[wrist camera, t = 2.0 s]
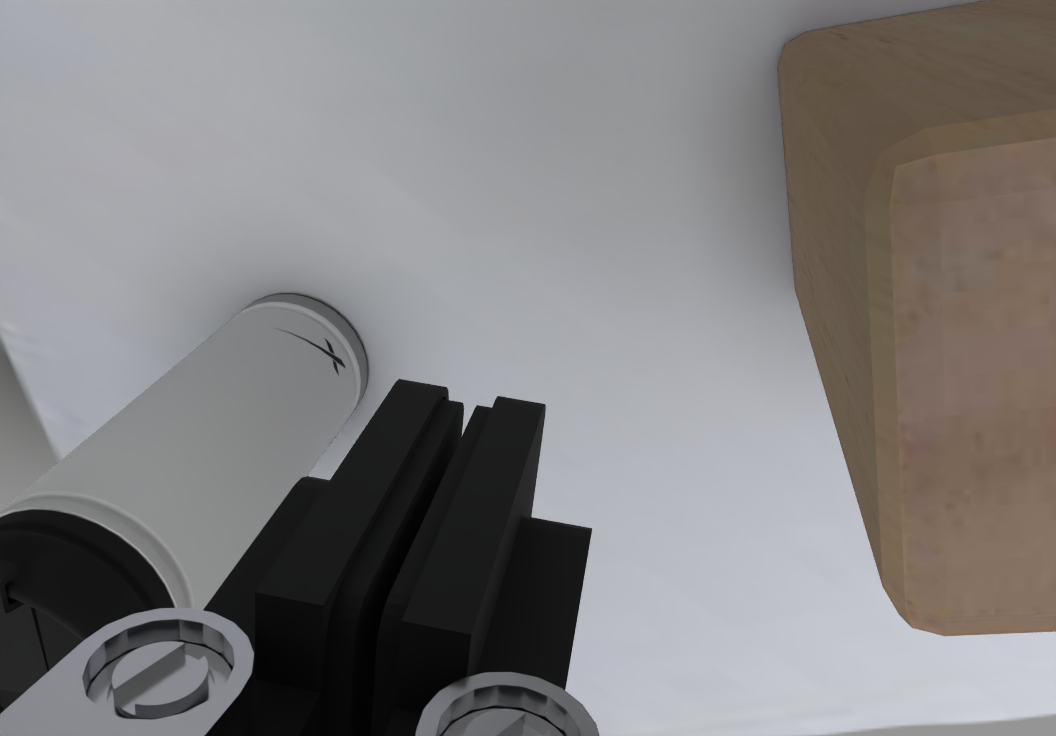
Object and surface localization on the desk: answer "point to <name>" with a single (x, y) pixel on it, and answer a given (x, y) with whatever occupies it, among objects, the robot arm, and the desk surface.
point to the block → (936, 295)
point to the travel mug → (173, 483)
